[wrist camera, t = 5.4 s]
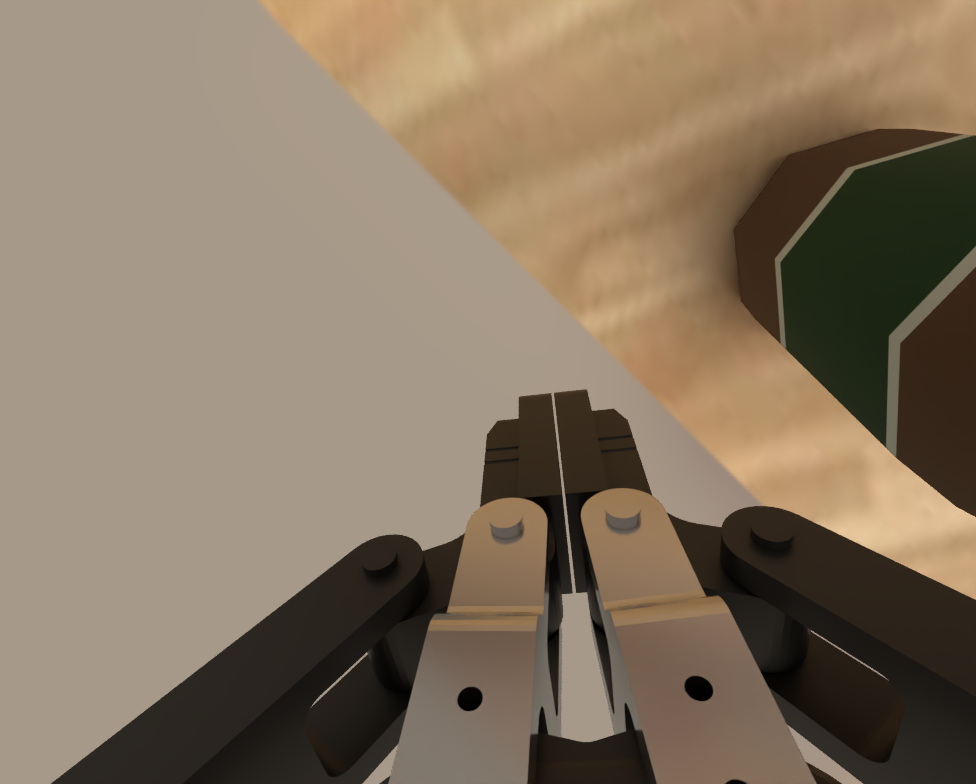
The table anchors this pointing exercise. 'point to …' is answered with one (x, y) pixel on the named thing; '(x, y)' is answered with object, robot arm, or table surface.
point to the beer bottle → (878, 288)
